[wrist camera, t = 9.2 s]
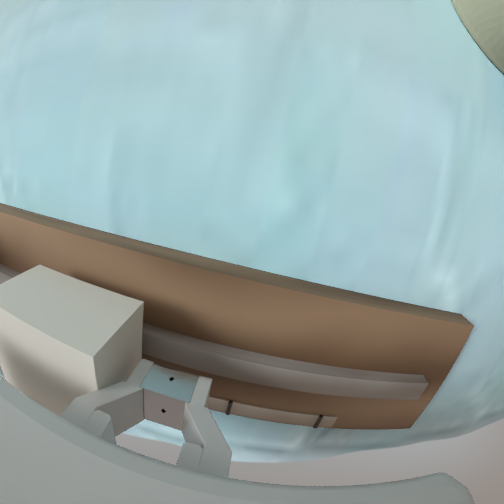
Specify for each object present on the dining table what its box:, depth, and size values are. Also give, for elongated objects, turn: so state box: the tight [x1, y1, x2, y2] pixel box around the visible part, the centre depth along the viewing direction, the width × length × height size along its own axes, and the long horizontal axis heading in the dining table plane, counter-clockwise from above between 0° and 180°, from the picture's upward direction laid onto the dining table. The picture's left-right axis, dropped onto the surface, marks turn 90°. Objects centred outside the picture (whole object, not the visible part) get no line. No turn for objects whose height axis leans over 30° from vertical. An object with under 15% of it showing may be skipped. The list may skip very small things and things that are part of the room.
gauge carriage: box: [0, 265, 144, 417], centre depth 10 cm, size 7×8×4 cm
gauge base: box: [0, 203, 473, 429], centre depth 10 cm, size 8×36×8 cm, turn 77°
